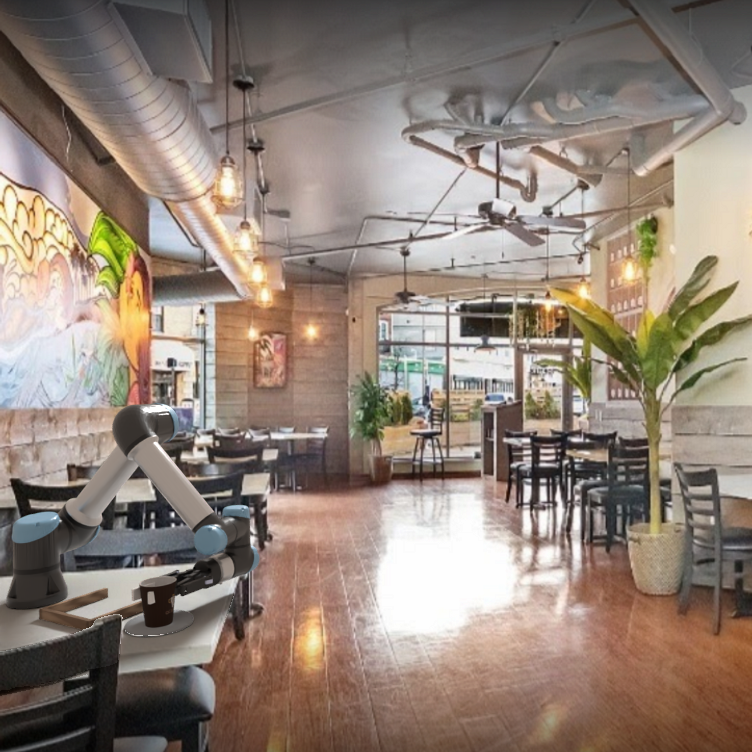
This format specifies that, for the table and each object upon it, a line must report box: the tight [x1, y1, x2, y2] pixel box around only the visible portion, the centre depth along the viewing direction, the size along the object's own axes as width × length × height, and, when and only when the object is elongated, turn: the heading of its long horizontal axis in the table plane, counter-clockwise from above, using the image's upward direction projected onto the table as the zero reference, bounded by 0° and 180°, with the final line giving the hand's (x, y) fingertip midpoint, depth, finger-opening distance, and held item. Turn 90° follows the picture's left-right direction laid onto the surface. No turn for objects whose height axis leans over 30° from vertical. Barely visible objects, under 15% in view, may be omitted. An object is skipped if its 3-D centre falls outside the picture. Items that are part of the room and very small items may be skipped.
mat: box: [123, 609, 195, 636], centre depth 156 cm, size 16×16×1 cm
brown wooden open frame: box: [38, 587, 143, 631], centre depth 166 cm, size 19×20×2 cm
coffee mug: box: [138, 575, 177, 628], centre depth 156 cm, size 12×9×10 cm
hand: (140, 596), depth 151 cm, fingers open, 5 cm apart
